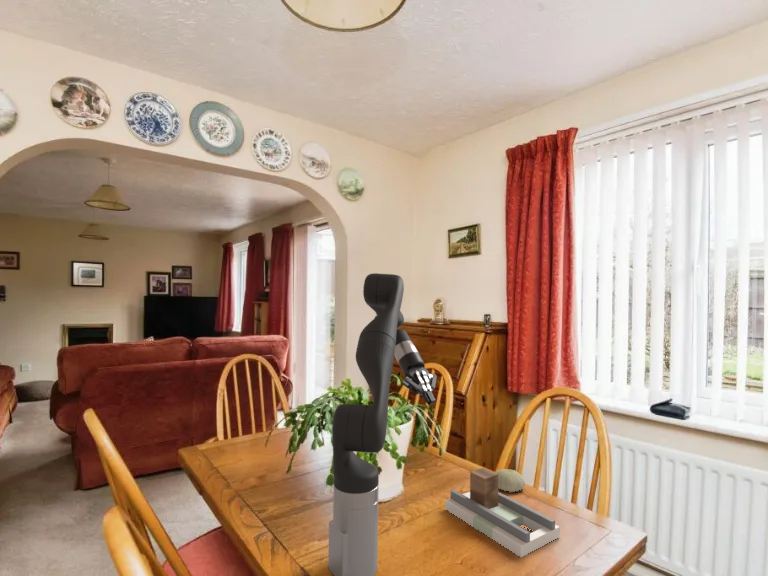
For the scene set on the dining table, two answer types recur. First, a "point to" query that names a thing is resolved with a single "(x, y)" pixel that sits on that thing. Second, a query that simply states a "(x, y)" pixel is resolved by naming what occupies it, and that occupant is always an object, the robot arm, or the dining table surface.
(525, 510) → the lane deck
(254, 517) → the dining table surface
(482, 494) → the walnut block
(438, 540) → the dining table surface
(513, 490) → the sea urchin shell
